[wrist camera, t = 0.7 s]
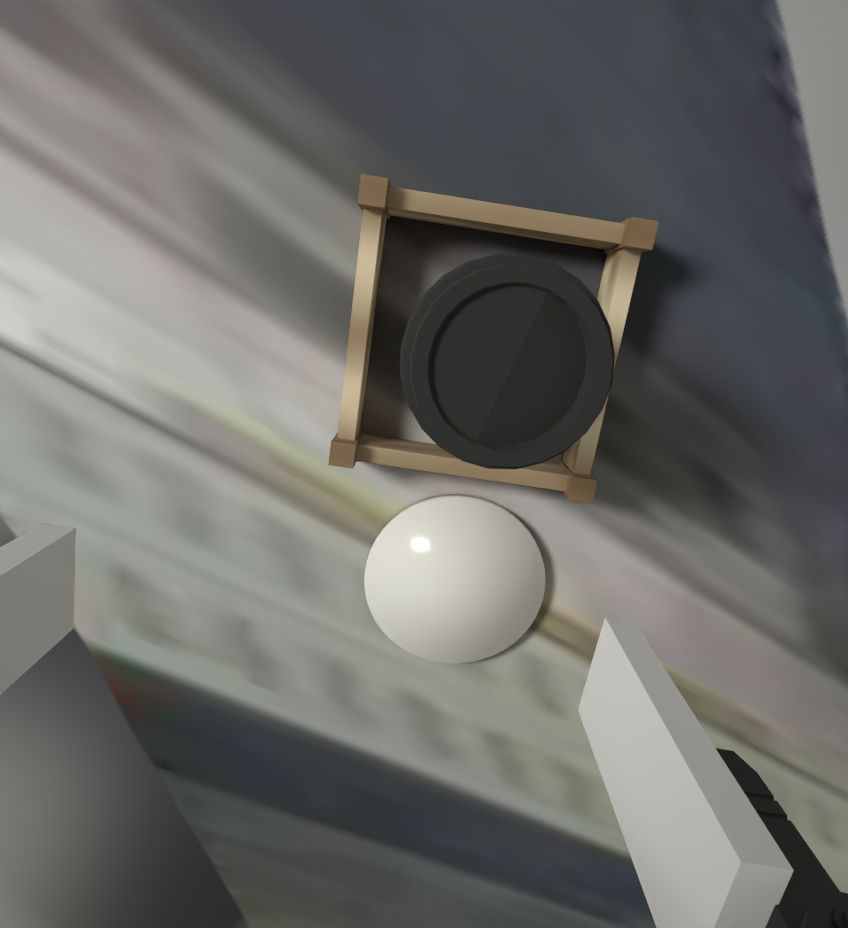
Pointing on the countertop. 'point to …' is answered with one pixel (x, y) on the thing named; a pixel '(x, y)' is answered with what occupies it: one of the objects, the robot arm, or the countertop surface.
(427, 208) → the wooden frame
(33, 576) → the robot arm
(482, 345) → the coffee cup
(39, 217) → the countertop surface
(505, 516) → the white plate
